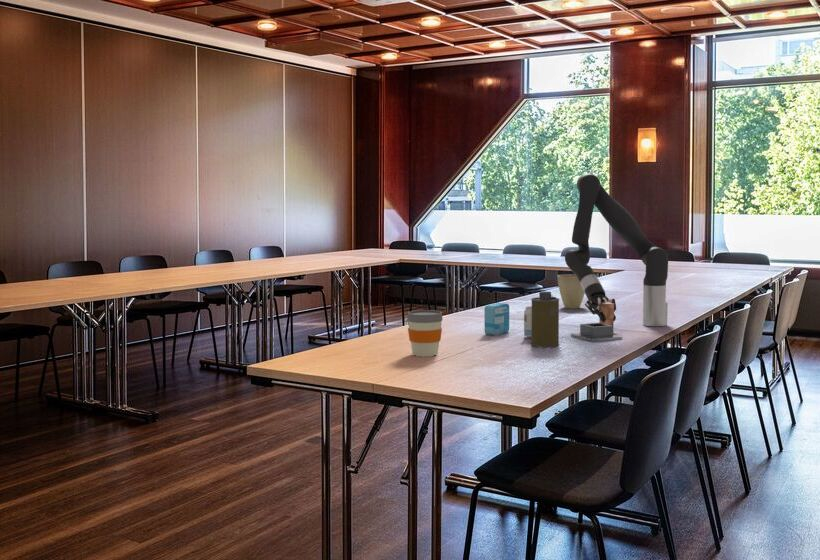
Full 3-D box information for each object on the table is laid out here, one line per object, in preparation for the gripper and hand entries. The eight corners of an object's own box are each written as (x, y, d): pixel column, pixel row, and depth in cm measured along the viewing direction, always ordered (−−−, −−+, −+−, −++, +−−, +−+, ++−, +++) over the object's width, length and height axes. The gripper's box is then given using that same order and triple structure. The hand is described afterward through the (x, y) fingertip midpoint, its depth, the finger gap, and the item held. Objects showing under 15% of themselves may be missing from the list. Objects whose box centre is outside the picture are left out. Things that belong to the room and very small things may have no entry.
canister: (549, 348, 305) (549, 294, 304) (525, 345, 313) (525, 292, 311) (565, 344, 313) (565, 291, 311) (541, 341, 320) (542, 289, 318)
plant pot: (557, 309, 409) (557, 277, 407) (556, 305, 423) (556, 274, 422) (588, 309, 407) (589, 277, 405) (586, 305, 421) (586, 274, 420)
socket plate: (601, 333, 336) (601, 321, 336) (622, 339, 323) (622, 326, 323) (571, 336, 331) (571, 323, 331) (591, 341, 318) (591, 328, 318)
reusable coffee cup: (420, 349, 306) (420, 309, 304) (449, 353, 299) (449, 311, 297) (400, 355, 296) (399, 313, 294) (430, 359, 288) (429, 316, 287)
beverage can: (541, 339, 325) (541, 308, 324) (523, 338, 327) (523, 308, 325) (542, 336, 332) (542, 306, 331) (524, 336, 333) (524, 306, 332)
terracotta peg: (607, 331, 342) (607, 302, 341) (613, 332, 338) (613, 303, 337) (599, 331, 341) (599, 302, 339) (605, 333, 337) (605, 303, 336)
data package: (493, 336, 334) (493, 306, 333) (484, 335, 337) (484, 305, 336) (509, 332, 343) (509, 303, 342) (500, 331, 346) (500, 302, 345)
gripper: (581, 283, 342) (598, 316, 332) (610, 281, 347) (628, 314, 337) (574, 294, 347) (590, 327, 337) (603, 292, 353) (620, 325, 343)
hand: (609, 320), depth 337 cm, fingers closed on terracotta peg, 4 cm apart
